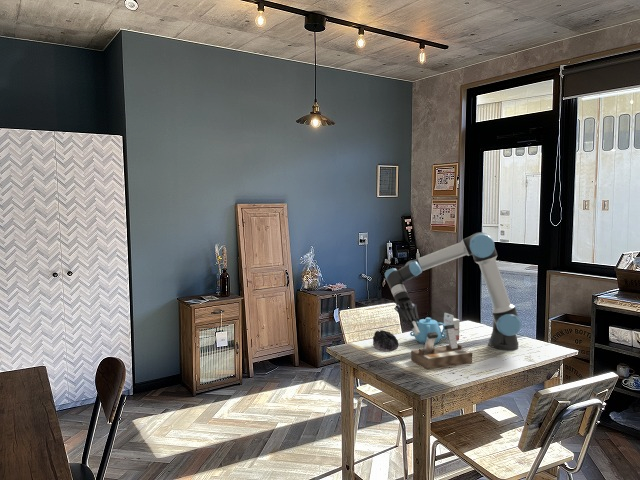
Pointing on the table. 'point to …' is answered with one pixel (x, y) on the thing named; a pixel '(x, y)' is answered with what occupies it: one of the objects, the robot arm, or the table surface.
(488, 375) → the table surface
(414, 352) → the switch unit
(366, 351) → the table surface
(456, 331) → the ink cartridge box
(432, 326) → the decorative pot
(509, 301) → the robot arm
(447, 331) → the lever
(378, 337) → the black rock
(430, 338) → the lever
